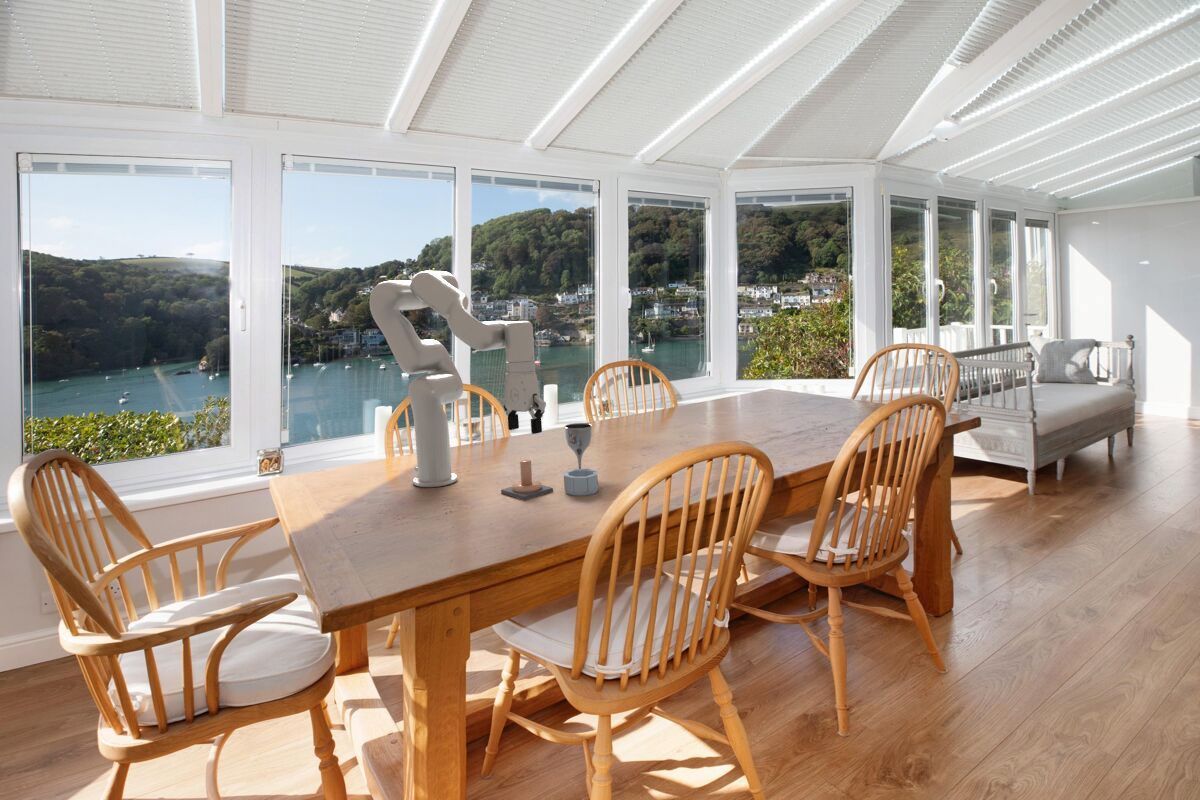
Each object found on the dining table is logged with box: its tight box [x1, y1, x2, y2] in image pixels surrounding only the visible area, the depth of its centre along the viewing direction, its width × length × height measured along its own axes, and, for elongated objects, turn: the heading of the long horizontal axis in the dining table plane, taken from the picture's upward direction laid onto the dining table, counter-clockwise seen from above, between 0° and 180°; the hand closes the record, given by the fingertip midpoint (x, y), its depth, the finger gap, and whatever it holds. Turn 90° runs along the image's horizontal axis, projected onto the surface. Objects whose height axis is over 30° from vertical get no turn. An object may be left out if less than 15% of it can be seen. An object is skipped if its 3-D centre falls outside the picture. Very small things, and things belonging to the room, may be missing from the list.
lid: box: [511, 459, 543, 493], centre depth 185 cm, size 8×8×8 cm
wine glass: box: [564, 422, 593, 469], centre depth 200 cm, size 8×8×15 cm
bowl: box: [563, 468, 599, 497], centre depth 185 cm, size 9×9×5 cm
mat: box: [500, 484, 554, 501], centre depth 186 cm, size 10×10×1 cm
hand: (525, 431), depth 183 cm, fingers open, 9 cm apart
